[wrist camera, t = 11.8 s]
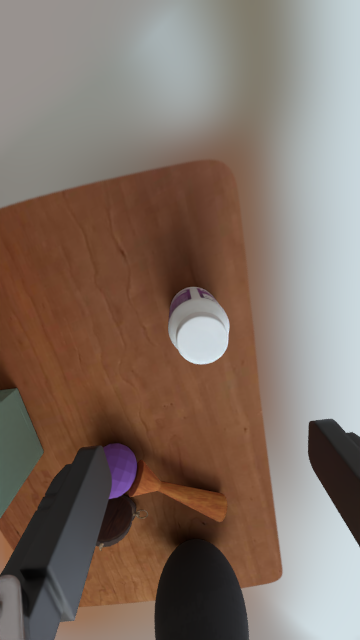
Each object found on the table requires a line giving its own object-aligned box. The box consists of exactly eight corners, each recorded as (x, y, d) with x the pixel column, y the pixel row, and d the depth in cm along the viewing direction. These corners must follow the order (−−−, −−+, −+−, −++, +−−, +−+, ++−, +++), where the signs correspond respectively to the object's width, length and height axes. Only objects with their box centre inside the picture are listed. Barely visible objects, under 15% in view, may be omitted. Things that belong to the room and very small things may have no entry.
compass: (97, 519, 37) (78, 583, 30) (96, 482, 34) (75, 541, 27) (147, 522, 37) (140, 585, 30) (150, 485, 35) (143, 545, 28)
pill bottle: (175, 334, 27) (173, 378, 18) (165, 291, 26) (158, 315, 17) (220, 326, 27) (241, 366, 18) (213, 281, 26) (232, 300, 16)
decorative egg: (161, 516, 37) (150, 689, 22) (238, 520, 37) (276, 692, 23) (157, 566, 40) (145, 742, 26) (227, 569, 41) (254, 744, 26)
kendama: (209, 540, 32) (73, 499, 28) (206, 492, 38) (91, 450, 33) (236, 525, 30) (91, 476, 25) (229, 476, 35) (108, 428, 30)
